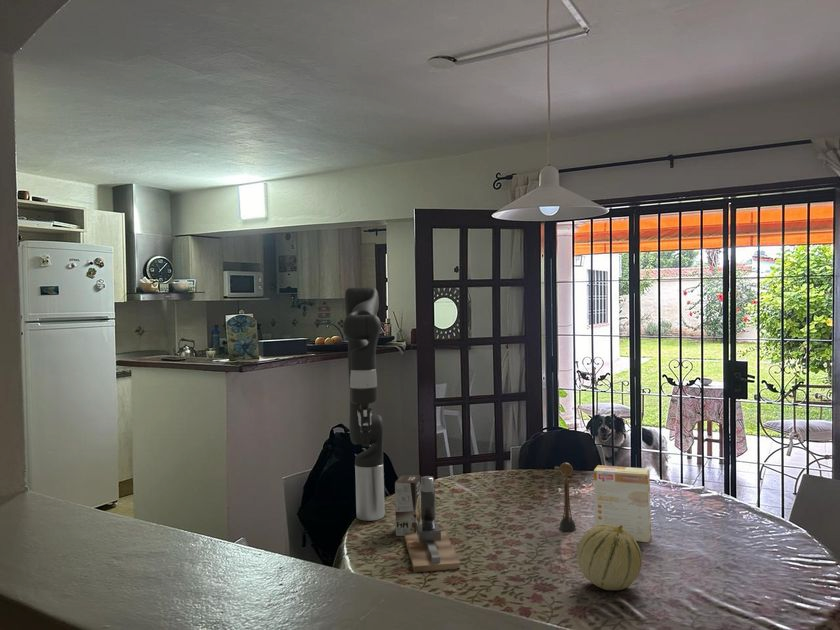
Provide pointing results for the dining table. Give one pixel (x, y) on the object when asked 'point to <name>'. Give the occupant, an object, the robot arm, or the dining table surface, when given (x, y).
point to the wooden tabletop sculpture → (566, 499)
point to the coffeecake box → (623, 499)
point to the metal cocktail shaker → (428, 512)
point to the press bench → (425, 558)
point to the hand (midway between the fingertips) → (365, 442)
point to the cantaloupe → (609, 557)
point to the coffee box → (407, 504)
